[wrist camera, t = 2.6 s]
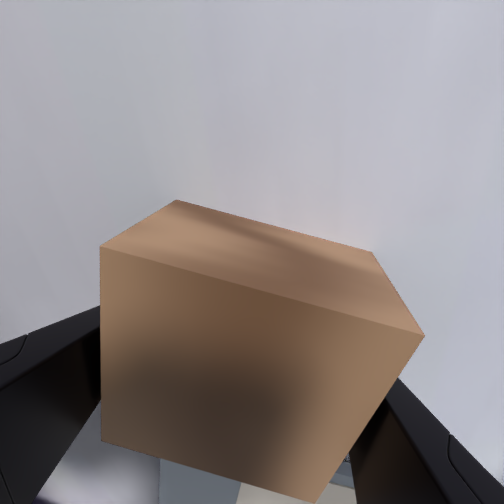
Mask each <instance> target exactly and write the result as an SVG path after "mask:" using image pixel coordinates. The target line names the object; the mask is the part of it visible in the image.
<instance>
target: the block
mask: <svg viewBox="0 0 504 504" xmlns="http://www.w3.org/2000/svg"><path fill="white" fill-rule="evenodd" d="M424 336H425V335H424V333H423V332H422V330H421V328H420V327H419V325H418V324H417V322H416V321H415V319H414V317H413V316H412V314H411V313H410V311H409V310H408V308H407V307H406V305H405V303H404V302H403V300H402V299H401V297H400V296H399V294H398V292H397V291H396V289H395V288H394V286H393V285H392V283H391V281H390V280H389V278H388V277H387V275H386V274H385V272H384V270H383V269H382V267H381V266H380V264H379V263H378V261H377V259H376V258H375V256H374V255H373V253H372V252H369V251H366V250H362V249H358V248H355V247H351V246H347V245H343V244H340V243H336V242H332V241H328V240H325V239H321V238H317V237H314V236H310V235H306V234H302V233H299V232H295V231H291V230H288V229H284V228H280V227H276V226H273V225H269V224H265V223H261V222H258V221H254V220H250V219H247V218H243V217H239V216H235V215H232V214H228V213H224V212H221V211H217V210H213V209H209V208H206V207H202V206H198V205H194V204H191V203H187V202H183V201H180V200H175V201H173V202H172V203H170V204H168V205H167V206H165V207H163V208H162V209H160V210H159V211H157V212H155V213H154V214H152V215H150V216H149V217H147V218H145V219H144V220H142V221H140V222H139V223H137V224H135V225H134V226H132V227H130V228H129V229H127V230H126V231H124V232H122V233H121V234H119V235H117V236H116V237H114V238H112V239H111V240H109V241H107V242H106V243H104V244H102V245H101V246H100V341H101V441H103V442H107V443H110V444H113V445H117V446H120V447H124V448H127V449H130V450H134V451H137V452H141V453H144V454H147V455H151V456H154V457H157V458H161V459H164V460H168V461H171V462H174V463H178V464H181V465H185V466H188V467H191V468H195V469H198V470H202V471H205V472H208V473H212V474H215V475H218V476H222V477H225V478H229V479H232V480H235V481H239V482H242V483H246V484H249V485H252V486H256V487H259V488H262V489H266V490H269V491H273V492H276V493H279V494H283V495H286V496H290V497H293V498H296V499H300V500H303V501H307V502H310V503H313V504H315V503H316V501H317V500H318V498H319V497H320V495H321V494H322V492H323V491H324V489H325V487H326V486H327V484H328V483H329V481H330V480H331V478H332V477H333V475H334V474H335V472H336V471H337V469H338V468H339V466H340V465H341V463H342V462H343V460H344V458H345V457H346V455H347V454H348V452H349V451H350V449H351V448H352V446H353V445H354V443H355V442H356V440H357V439H358V437H359V436H360V434H361V433H362V431H363V429H364V428H365V426H366V425H367V423H368V422H369V420H370V419H371V417H372V416H373V414H374V413H375V411H376V410H377V408H378V407H379V405H380V404H381V402H382V401H383V399H384V397H385V396H386V394H387V393H388V391H389V390H390V388H391V387H392V385H393V384H394V382H395V381H396V379H397V378H398V376H399V375H400V373H401V372H402V370H403V368H404V367H405V365H406V364H407V362H408V361H409V359H410V358H411V356H412V355H413V353H414V352H415V350H416V349H417V347H418V346H419V344H420V343H421V341H422V340H423V338H424Z"/></svg>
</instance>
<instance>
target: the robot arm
mask: <svg viewBox="0 0 504 504" xmlns="http://www.w3.org/2000/svg"><path fill="white" fill-rule="evenodd" d="M100 400H101V341H100V306H97V307H94V308H92V309H89V310H87V311H84V312H82V313H79V314H77V315H74V316H71V317H69V318H66V319H64V320H61V321H59V322H56V323H54V324H51V325H48V326H46V327H43V328H41V329H38V330H36V331H33V332H31V333H29V334H28V335H26V334H25V335H23V336H20V337H18V338H15V339H13V340H10V341H7V342H5V343H2V344H0V504H31V503H32V502H33V500H34V499H35V497H36V496H37V494H38V493H39V491H40V490H41V488H42V487H43V485H44V484H45V482H46V481H47V479H48V478H49V476H50V475H51V473H52V472H53V470H54V469H55V467H56V466H57V464H58V463H59V461H60V460H61V458H62V457H63V455H64V454H65V452H66V451H67V449H68V448H69V447H70V445H71V444H72V442H73V441H74V439H75V438H76V436H77V435H78V433H79V432H80V430H81V429H82V427H83V426H84V424H85V423H86V421H87V420H88V418H89V417H90V415H91V414H92V412H93V411H94V409H95V408H96V406H97V405H98V403H99V402H100ZM349 457H350V464H351V470H352V476H353V483H354V489H355V495H356V502H357V504H504V487H503V486H502V485H501V484H500V483H499V482H498V481H497V480H496V479H495V478H494V477H493V476H492V475H491V474H490V473H489V472H488V471H487V470H486V469H485V468H484V467H483V466H482V465H481V464H480V463H479V462H478V461H477V460H476V459H475V458H474V457H473V456H472V455H471V454H470V453H469V452H468V451H467V450H466V449H465V448H464V447H463V446H462V444H461V443H460V442H459V441H458V440H457V439H456V438H455V437H454V436H453V435H452V434H450V432H449V431H448V430H447V429H446V428H445V427H444V426H443V425H442V423H441V422H440V421H439V420H438V419H437V418H436V417H435V416H434V415H433V414H432V413H431V412H430V411H429V410H428V409H427V408H426V407H425V406H424V404H423V403H422V402H421V401H420V400H419V399H418V398H417V397H416V396H415V395H414V394H413V393H412V392H411V391H410V390H409V389H408V388H407V387H406V385H405V384H404V383H403V382H402V381H401V380H400V379H399V378H397V379H396V381H395V382H394V384H393V385H392V387H391V388H390V390H389V391H388V393H387V394H386V396H385V397H384V399H383V401H382V402H381V404H380V405H379V407H378V408H377V410H376V411H375V413H374V414H373V416H372V417H371V419H370V420H369V422H368V423H367V425H366V426H365V428H364V429H363V431H362V433H361V434H360V436H359V437H358V439H357V440H356V442H355V443H354V445H353V446H352V448H351V449H350V451H349Z"/></svg>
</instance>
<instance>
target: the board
mask: <svg viewBox="0 0 504 504" xmlns="http://www.w3.org/2000/svg"><path fill="white" fill-rule="evenodd" d="M159 504H313V503H310V502H307V501H303V500H300V499H296V498H293V497H290V496H286V495H283V494H279V493H276V492H273V491H269V490H266V489H262V488H259V487H256V486H252V485H249V484H246V483H242V482H239V481H235V480H232V479H229V478H225V477H222V476H218V475H215V474H212V473H208V472H205V471H202V470H198V469H195V468H191V467H188V466H185V465H181V464H178V463H174V462H171V461H168V460H164V459H161V458H160V478H159ZM315 504H357V502H356V495H355V489H354V483H353V476H352V470H351V464H350V463H349V462H345V461H343V462H342V463H341V465H340V466H339V468H338V469H337V471H336V472H335V474H334V475H333V477H332V478H331V480H330V481H329V483H328V484H327V486H326V487H325V489H324V491H323V492H322V494H321V495H320V497H319V498H318V500H317V501H316V503H315Z"/></svg>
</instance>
